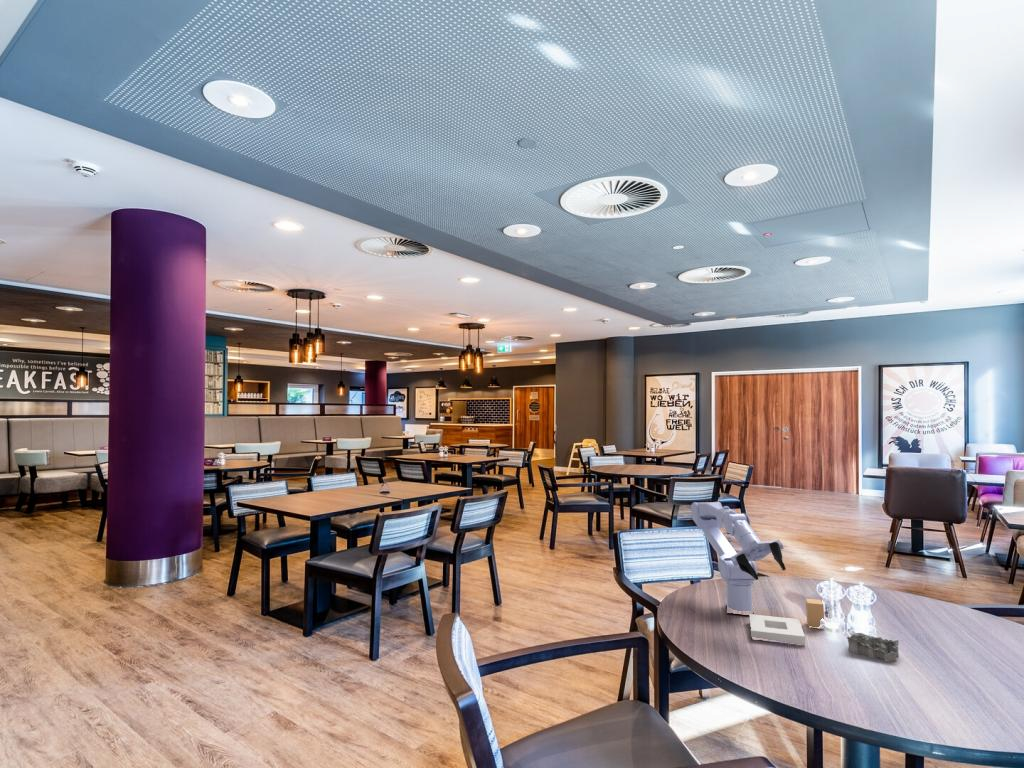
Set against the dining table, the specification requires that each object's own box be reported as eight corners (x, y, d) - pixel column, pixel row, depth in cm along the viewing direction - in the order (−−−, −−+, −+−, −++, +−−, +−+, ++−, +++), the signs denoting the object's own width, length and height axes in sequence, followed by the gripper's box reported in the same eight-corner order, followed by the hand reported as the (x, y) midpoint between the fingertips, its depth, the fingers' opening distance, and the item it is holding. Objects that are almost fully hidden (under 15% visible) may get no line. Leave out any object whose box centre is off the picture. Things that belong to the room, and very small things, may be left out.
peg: (806, 622, 160) (805, 598, 161) (822, 624, 159) (821, 599, 159) (808, 628, 157) (807, 602, 157) (824, 629, 155) (823, 604, 156)
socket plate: (749, 622, 161) (749, 614, 162) (799, 628, 157) (798, 619, 157) (751, 639, 149) (751, 630, 149) (805, 646, 145) (804, 636, 145)
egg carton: (845, 652, 141) (844, 636, 141) (853, 643, 146) (852, 628, 147) (895, 665, 133) (894, 647, 134) (901, 655, 139) (900, 638, 139)
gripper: (721, 539, 163) (740, 570, 150) (769, 522, 161) (792, 552, 148) (728, 557, 165) (747, 589, 153) (775, 540, 163) (798, 571, 151)
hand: (770, 572), depth 151 cm, fingers open, 7 cm apart
